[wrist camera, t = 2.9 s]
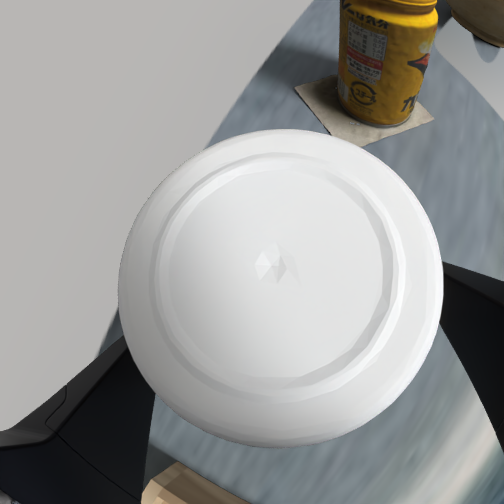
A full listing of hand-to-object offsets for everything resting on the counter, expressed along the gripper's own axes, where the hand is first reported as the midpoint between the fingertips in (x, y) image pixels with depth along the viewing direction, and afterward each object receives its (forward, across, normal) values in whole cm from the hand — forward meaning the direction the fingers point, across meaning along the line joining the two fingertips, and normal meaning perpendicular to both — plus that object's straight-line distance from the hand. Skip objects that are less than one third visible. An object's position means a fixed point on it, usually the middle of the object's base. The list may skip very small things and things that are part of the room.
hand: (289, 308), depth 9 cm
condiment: (+16, -9, -5) cm, 19 cm away
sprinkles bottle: (+5, 0, +6) cm, 8 cm away
